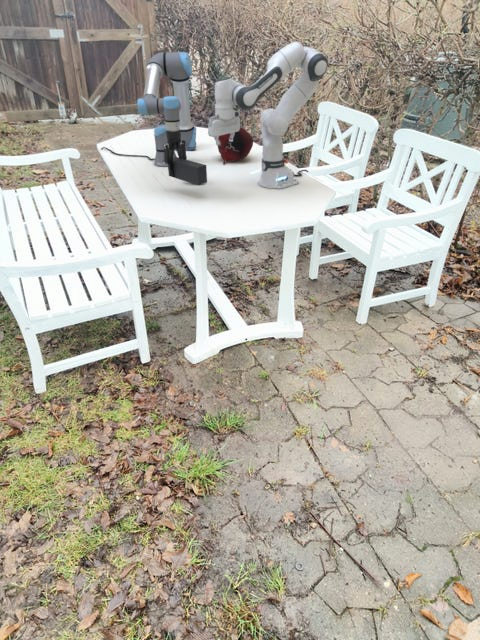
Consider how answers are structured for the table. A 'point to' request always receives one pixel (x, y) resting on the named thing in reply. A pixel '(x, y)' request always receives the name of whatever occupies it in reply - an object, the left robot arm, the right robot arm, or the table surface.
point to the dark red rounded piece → (235, 146)
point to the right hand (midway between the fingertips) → (224, 143)
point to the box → (189, 171)
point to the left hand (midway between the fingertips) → (177, 175)
